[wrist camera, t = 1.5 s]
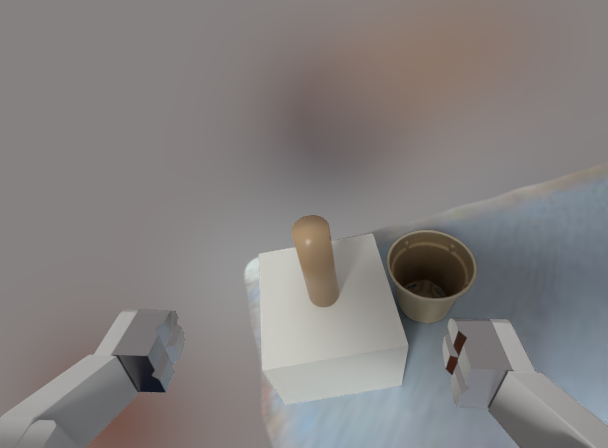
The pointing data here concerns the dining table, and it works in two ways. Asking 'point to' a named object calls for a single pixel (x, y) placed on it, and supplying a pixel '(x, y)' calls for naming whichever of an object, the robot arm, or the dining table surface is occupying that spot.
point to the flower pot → (430, 273)
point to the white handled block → (328, 317)
